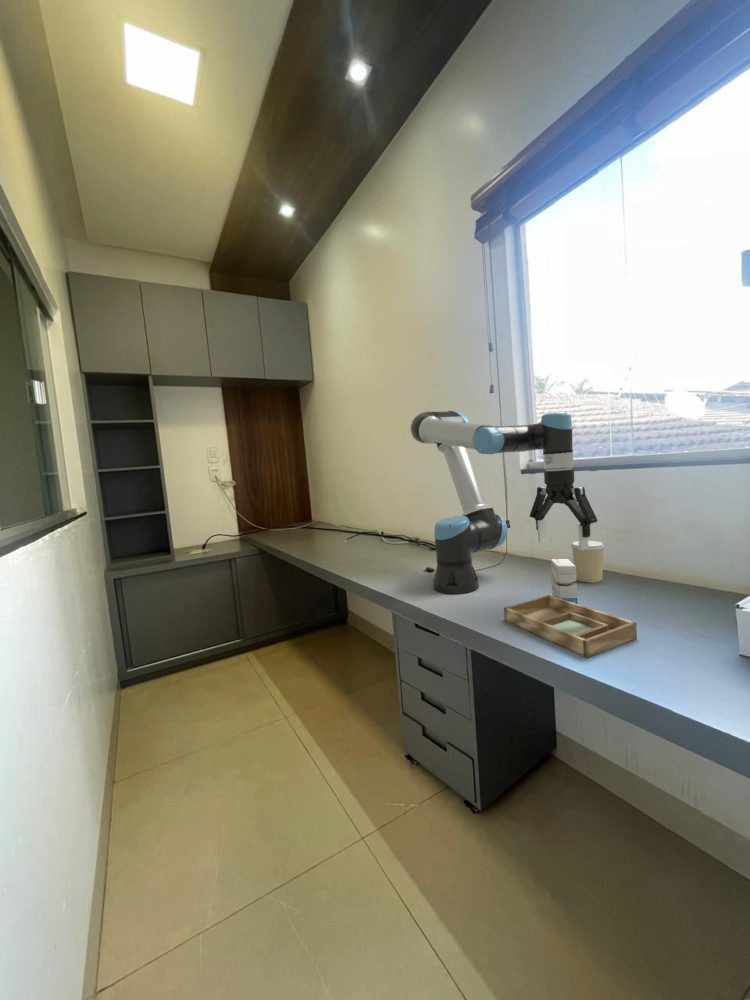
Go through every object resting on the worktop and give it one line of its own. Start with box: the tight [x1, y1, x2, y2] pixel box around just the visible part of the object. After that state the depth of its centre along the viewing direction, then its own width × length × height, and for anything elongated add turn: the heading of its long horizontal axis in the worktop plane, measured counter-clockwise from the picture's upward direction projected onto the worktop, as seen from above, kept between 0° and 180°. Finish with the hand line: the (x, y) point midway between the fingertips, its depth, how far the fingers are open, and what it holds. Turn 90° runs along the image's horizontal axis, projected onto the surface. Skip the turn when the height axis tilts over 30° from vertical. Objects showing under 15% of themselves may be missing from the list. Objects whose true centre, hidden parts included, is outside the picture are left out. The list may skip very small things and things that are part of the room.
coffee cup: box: [571, 540, 605, 583], centre depth 130 cm, size 9×9×12 cm
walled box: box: [503, 594, 638, 659], centre depth 96 cm, size 24×16×4 cm, turn 24°
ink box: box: [550, 558, 579, 604], centre depth 112 cm, size 8×5×12 cm, turn 168°
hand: (562, 545), depth 111 cm, fingers open, 13 cm apart
